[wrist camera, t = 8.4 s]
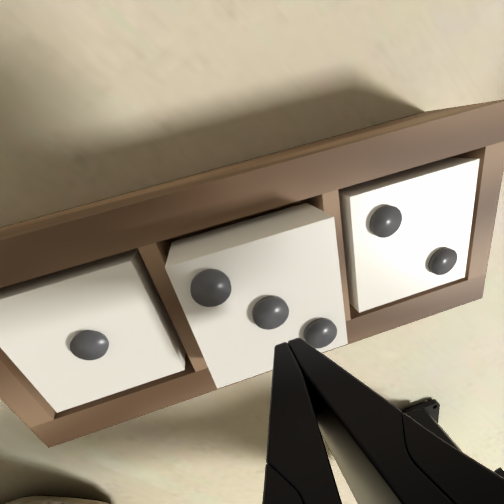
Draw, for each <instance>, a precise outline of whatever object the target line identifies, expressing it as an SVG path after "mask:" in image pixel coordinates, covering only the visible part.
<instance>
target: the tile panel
mask: <svg viewBox="0 0 504 504" xmlns="http://www.w3.org/2000/svg"><path fill="white" fill-rule="evenodd" d="M448 157H451V158H474V159H480V160H479V168H478V176H477V184H476V192H475V200H474V208H473V216H472V224H471V231H470V239H469V247H468V255H467V263H466V271H465V277H464V278H461V279H458V280H455V281H452V282H449V283H446V284H443V285H440V286H437V287H434V288H431V289H428V290H425V291H422V292H419V293H416V294H413V295H410V296H407V297H404V298H401V299H398V300H395V301H392V302H389V303H386V304H383V305H380V306H377V307H374V308H371V309H368V310H365V311H363V312H360V313H359V312H358V311H357V310H356V309H355V308H354V307H353V306H352V305H351V304H350V303H349V296H348V286H347V275H346V265H345V255H344V245H343V234H342V224H341V214H340V203H339V193H338V189H342V188H345V187H349V186H352V185H355V184H359V183H362V182H366V181H369V180H373V179H376V178H380V177H383V176H386V175H390V174H393V173H397V172H400V171H404V170H407V169H410V168H414V167H417V166H421V165H424V164H428V163H431V162H434V161H438V160H441V159H445V158H448ZM503 169H504V100H499V101H492V102H486V103H479V104H473V105H466V106H460V107H453V108H446V109H440V110H433V111H427V112H423V113H419V114H415V115H412V116H408V117H404V118H401V119H397V120H393V121H390V122H386V123H382V124H379V125H375V126H371V127H368V128H364V129H360V130H357V131H353V132H349V133H346V134H342V135H338V136H335V137H331V138H327V139H324V140H320V141H316V142H313V143H309V144H305V145H302V146H298V147H294V148H291V149H287V150H283V151H280V152H276V153H273V154H269V155H265V156H262V157H258V158H254V159H251V160H247V161H243V162H240V163H236V164H232V165H229V166H225V167H221V168H218V169H214V170H210V171H207V172H203V173H199V174H196V175H192V176H188V177H185V178H181V179H177V180H174V181H170V182H166V183H163V184H159V185H155V186H152V187H148V188H144V189H141V190H137V191H133V192H130V193H126V194H122V195H119V196H115V197H111V198H108V199H104V200H100V201H97V202H93V203H89V204H86V205H82V206H78V207H75V208H71V209H67V210H64V211H60V212H56V213H53V214H49V215H45V216H42V217H38V218H34V219H31V220H27V221H23V222H20V223H16V224H12V225H9V226H5V227H1V228H0V288H2V287H6V286H9V285H12V284H16V283H19V282H23V281H26V280H30V279H33V278H36V277H40V276H43V275H47V274H50V273H54V272H57V271H60V270H64V269H67V268H71V267H74V266H78V265H81V264H84V263H88V262H91V261H95V260H98V259H102V258H105V257H108V256H112V255H115V254H119V253H122V252H126V251H129V250H132V249H136V248H138V250H139V252H140V254H141V256H142V258H143V261H144V263H145V265H146V267H147V269H148V271H149V273H150V276H151V278H152V280H153V282H154V284H155V286H156V288H157V291H158V293H159V295H160V297H161V299H162V301H163V303H164V306H165V308H166V310H167V312H168V314H169V316H170V318H171V321H172V323H173V325H174V327H175V329H176V331H177V333H178V335H179V338H180V340H181V342H182V344H183V346H184V348H185V350H186V356H185V370H183V371H180V372H177V373H174V374H171V375H168V376H165V377H162V378H159V379H156V380H153V381H150V382H147V383H144V384H141V385H138V386H135V387H132V388H129V389H126V390H123V391H120V392H117V393H115V394H112V395H109V396H106V397H103V398H100V399H97V400H94V401H91V402H88V403H85V404H82V405H79V406H76V407H73V408H70V409H67V410H64V411H61V412H58V413H57V412H56V411H55V410H54V409H53V408H52V406H51V405H50V404H49V403H48V402H47V401H46V399H45V398H44V397H43V396H42V395H41V394H40V393H39V391H38V390H37V389H36V388H35V387H34V386H33V385H32V383H31V382H30V381H29V380H28V379H27V378H26V376H25V375H24V374H23V373H22V372H21V371H20V370H19V368H18V367H17V366H16V365H15V364H14V363H13V362H12V360H11V359H10V358H9V357H8V356H7V355H6V353H5V352H4V351H3V350H2V349H1V348H0V398H1V399H2V400H3V401H4V402H5V404H6V405H7V406H8V407H9V408H10V409H11V410H12V411H13V412H14V413H15V414H16V415H17V416H18V417H19V418H20V419H21V420H22V421H23V422H24V423H25V424H26V425H27V426H28V427H29V428H30V429H31V430H32V431H33V432H34V433H35V434H36V435H37V436H38V437H39V438H40V439H41V440H42V441H43V442H44V443H45V444H46V445H47V446H48V448H49V447H52V446H55V445H58V444H61V443H64V442H67V441H70V440H73V439H75V438H78V437H81V436H84V435H87V434H90V433H93V432H96V431H99V430H102V429H104V428H107V427H110V426H113V425H116V424H119V423H122V422H125V421H128V420H130V419H133V418H136V417H139V416H142V415H145V414H148V413H151V412H154V411H156V410H159V409H162V408H165V407H168V406H171V405H174V404H177V403H180V402H183V401H185V400H188V399H191V398H194V397H197V396H200V395H203V394H206V393H209V392H211V391H214V390H217V387H216V385H215V382H214V380H213V378H212V375H211V373H210V371H209V368H208V366H207V364H206V361H205V359H204V357H203V355H202V352H201V350H200V348H199V345H198V343H197V341H196V338H195V336H194V334H193V332H192V329H191V327H190V325H189V322H188V320H187V318H186V315H185V313H184V311H183V308H182V306H181V304H180V302H179V299H178V297H177V295H176V292H175V290H174V288H173V285H172V283H171V281H170V279H169V276H168V274H167V272H166V269H165V265H166V261H167V258H168V254H169V250H170V247H171V243H172V242H174V241H177V240H180V239H184V238H187V237H191V236H194V235H198V234H201V233H204V232H208V231H211V230H215V229H218V228H221V227H225V226H228V225H232V224H235V223H239V222H242V221H245V220H249V219H252V218H256V217H259V216H262V215H266V214H269V213H273V212H276V211H280V210H283V209H286V208H290V207H293V206H297V205H300V204H303V203H308V204H310V205H312V206H314V207H316V208H318V209H320V210H322V211H324V212H326V213H328V214H330V215H332V216H334V220H335V229H336V239H337V248H338V257H339V266H340V275H341V285H342V294H343V303H344V312H345V321H346V331H347V340H348V344H350V343H353V342H356V341H359V340H362V339H365V338H368V337H371V336H373V335H376V334H379V333H382V332H385V331H388V330H391V329H394V328H397V327H400V326H402V325H405V324H408V323H411V322H414V321H417V320H420V319H423V318H426V317H428V316H431V315H434V314H437V313H440V312H443V311H446V310H449V309H452V308H454V307H457V306H460V305H463V304H466V303H469V302H472V301H475V300H478V299H481V298H482V296H483V290H484V284H485V278H486V272H487V266H488V260H489V254H490V248H491V242H492V236H493V230H494V224H495V218H496V212H497V206H498V200H499V193H500V187H501V181H502V175H503ZM346 345H347V344H346ZM343 346H345V345H343ZM340 347H342V346H340ZM337 348H339V347H337ZM334 349H336V348H334ZM331 350H333V349H331ZM328 351H330V350H328ZM325 352H327V351H325ZM323 353H324V352H323ZM270 371H272V370H270ZM268 372H269V371H268ZM265 373H266V372H265ZM262 374H264V373H262ZM259 375H261V374H259ZM256 376H258V375H256ZM253 377H255V376H253ZM250 378H252V377H250ZM247 379H249V378H247ZM244 380H246V379H244ZM241 381H243V380H241ZM239 382H240V381H239ZM236 383H238V382H236ZM233 384H235V383H233ZM230 385H232V384H230ZM227 386H229V385H227ZM224 387H226V386H224ZM221 388H223V387H221ZM218 389H220V388H218Z"/></svg>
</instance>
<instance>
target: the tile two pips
mask: <svg viewBox="0 0 504 504" xmlns="http://www.w3.org/2000/svg"><path fill="white" fill-rule="evenodd" d="M479 160H480V159H474V158H451V157H448V158H445V159H441V160H438V161H434V162H431V163H428V164H424V165H421V166H417V167H414V168H410V169H407V170H404V171H400V172H397V173H393V174H390V175H386V176H383V177H380V178H376V179H373V180H369V181H366V182H362V183H359V184H355V185H352V186H349V187H345V188H342V189H338V193H339V203H340V214H341V224H342V234H343V245H344V255H345V265H346V275H347V286H348V296H349V303H350V304H351V305H352V306H353V307H354V308H355V309H356V310H357V311H358V312H359V313H360V312H363V311H365V310H368V309H371V308H374V307H377V306H380V305H383V304H386V303H389V302H392V301H395V300H398V299H401V298H404V297H407V296H410V295H413V294H416V293H419V292H422V291H425V290H428V289H431V288H434V287H437V286H440V285H443V284H446V283H449V282H452V281H455V280H458V279H461V278H464V277H465V271H466V263H467V255H468V247H469V239H470V231H471V224H472V216H473V208H474V200H475V192H476V184H477V176H478V168H479Z"/></svg>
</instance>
